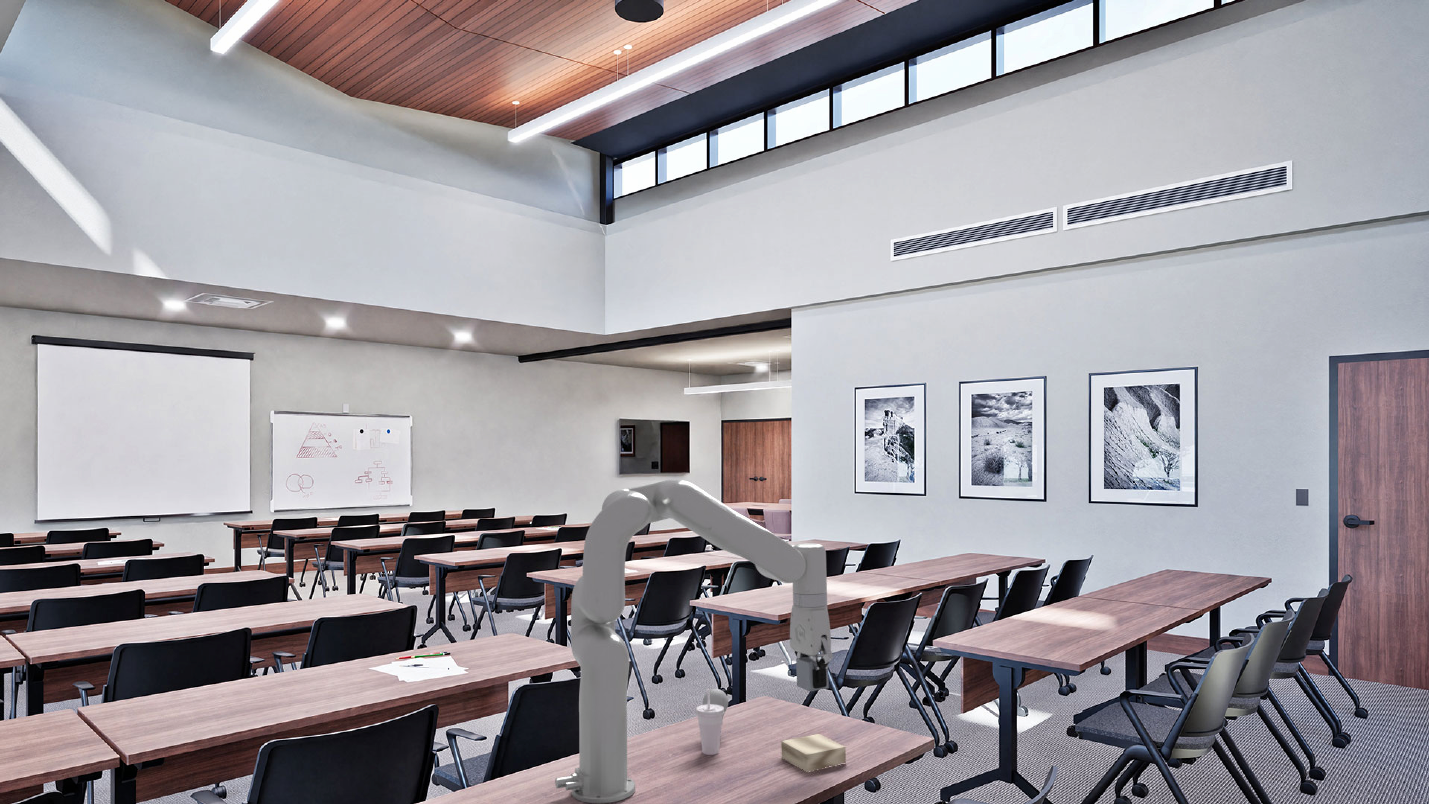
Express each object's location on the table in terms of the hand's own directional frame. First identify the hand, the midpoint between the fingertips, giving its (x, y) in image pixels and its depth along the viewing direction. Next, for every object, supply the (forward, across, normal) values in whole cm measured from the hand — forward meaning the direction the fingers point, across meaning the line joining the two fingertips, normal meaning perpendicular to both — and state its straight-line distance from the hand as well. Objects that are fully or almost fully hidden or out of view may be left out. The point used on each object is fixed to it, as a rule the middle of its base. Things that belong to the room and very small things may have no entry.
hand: (812, 683), depth 185 cm
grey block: (+1, 0, 0) cm, 1 cm away
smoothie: (+17, -16, -17) cm, 29 cm away
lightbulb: (+17, -25, -11) cm, 32 cm away
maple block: (+17, 0, 0) cm, 17 cm away
